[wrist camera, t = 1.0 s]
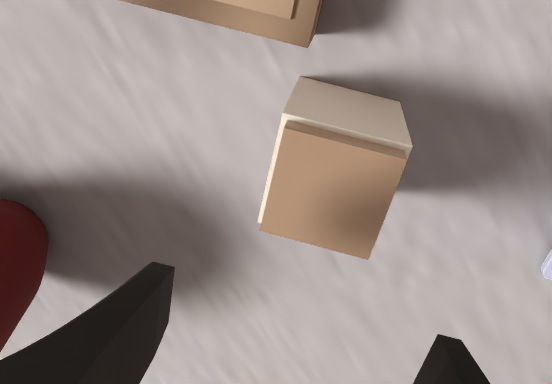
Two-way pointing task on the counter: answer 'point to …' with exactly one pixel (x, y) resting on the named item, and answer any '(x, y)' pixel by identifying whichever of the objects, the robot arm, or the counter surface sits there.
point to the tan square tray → (250, 16)
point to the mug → (19, 263)
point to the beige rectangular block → (334, 167)
